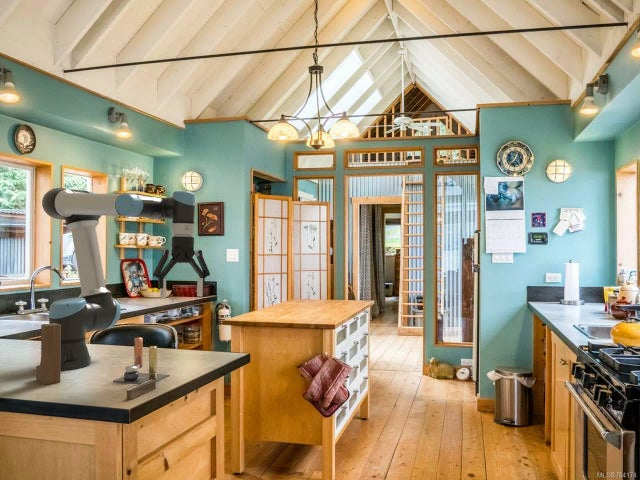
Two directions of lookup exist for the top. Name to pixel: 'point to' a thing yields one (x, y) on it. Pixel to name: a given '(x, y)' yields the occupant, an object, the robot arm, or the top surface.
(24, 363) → the top surface
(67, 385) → the top surface
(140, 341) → the crank
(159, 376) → the crank base
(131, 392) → the batten
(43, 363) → the wooden block
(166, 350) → the top surface
